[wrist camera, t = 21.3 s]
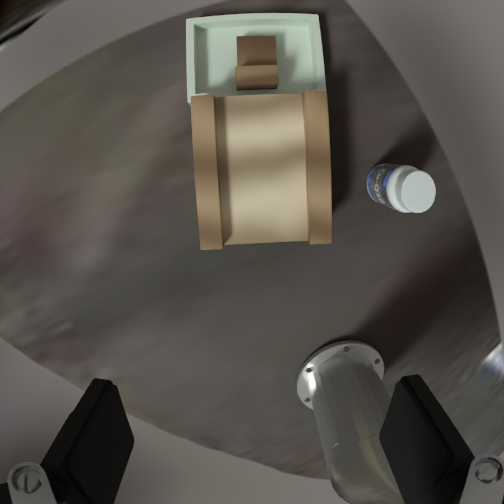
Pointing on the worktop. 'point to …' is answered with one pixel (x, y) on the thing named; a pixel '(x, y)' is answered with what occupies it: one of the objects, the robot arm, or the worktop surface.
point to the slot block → (262, 168)
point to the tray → (225, 52)
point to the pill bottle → (401, 187)
